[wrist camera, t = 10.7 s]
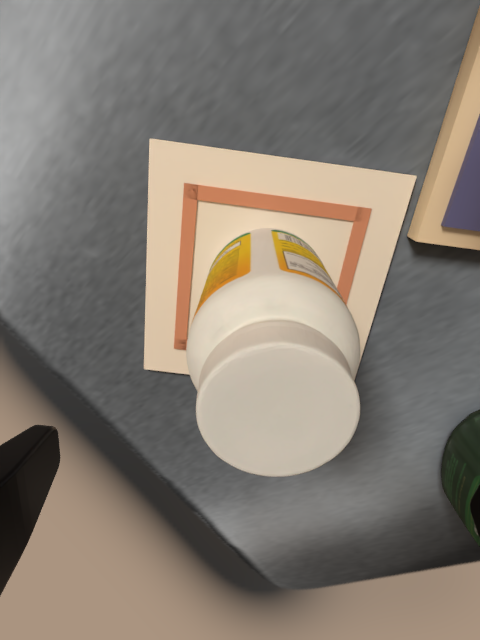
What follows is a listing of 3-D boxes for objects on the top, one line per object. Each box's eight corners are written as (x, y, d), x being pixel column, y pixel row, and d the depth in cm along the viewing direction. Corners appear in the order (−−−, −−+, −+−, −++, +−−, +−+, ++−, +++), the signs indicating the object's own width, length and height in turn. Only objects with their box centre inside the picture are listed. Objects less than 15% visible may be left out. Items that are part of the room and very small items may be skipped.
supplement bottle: (322, 220, 17) (404, 305, 8) (323, 330, 19) (387, 491, 10) (199, 231, 17) (148, 325, 8) (214, 338, 19) (186, 502, 10)
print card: (414, 175, 16) (417, 176, 16) (348, 390, 21) (350, 394, 20) (151, 138, 16) (148, 138, 15) (145, 365, 20) (143, 370, 20)
